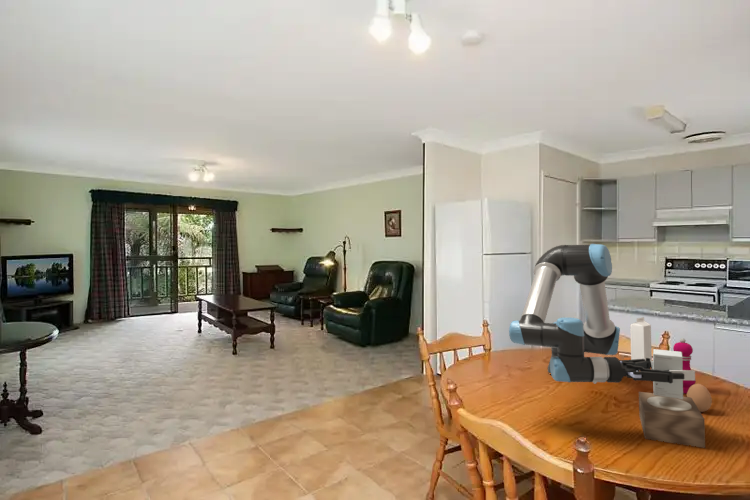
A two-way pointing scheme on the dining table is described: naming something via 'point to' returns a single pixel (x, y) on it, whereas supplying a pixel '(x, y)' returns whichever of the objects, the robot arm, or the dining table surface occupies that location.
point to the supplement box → (665, 363)
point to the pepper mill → (685, 361)
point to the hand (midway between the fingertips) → (683, 370)
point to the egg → (700, 397)
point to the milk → (641, 340)
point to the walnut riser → (671, 419)
